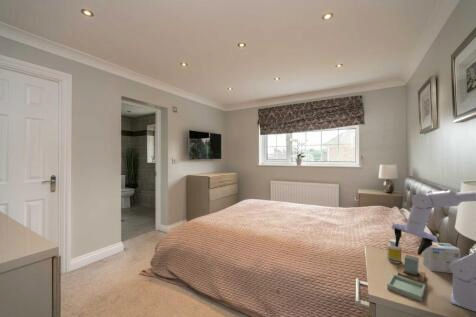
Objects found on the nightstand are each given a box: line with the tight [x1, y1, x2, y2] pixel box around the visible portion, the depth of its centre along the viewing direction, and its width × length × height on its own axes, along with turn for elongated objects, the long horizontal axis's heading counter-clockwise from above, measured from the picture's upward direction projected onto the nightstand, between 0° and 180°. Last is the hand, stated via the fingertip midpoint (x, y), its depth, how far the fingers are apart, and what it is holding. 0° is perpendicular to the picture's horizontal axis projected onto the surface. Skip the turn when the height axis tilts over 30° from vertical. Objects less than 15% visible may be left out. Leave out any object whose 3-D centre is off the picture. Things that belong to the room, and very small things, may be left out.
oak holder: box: [397, 265, 426, 284], centre depth 90 cm, size 8×8×2 cm
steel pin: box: [404, 254, 420, 278], centre depth 90 cm, size 4×4×8 cm
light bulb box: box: [422, 242, 461, 274], centre depth 96 cm, size 11×7×11 cm, turn 77°
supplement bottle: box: [386, 238, 402, 264], centre depth 103 cm, size 5×5×10 cm
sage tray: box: [386, 273, 426, 303], centre depth 82 cm, size 10×10×2 cm
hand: (407, 249), depth 90 cm, fingers open, 7 cm apart
